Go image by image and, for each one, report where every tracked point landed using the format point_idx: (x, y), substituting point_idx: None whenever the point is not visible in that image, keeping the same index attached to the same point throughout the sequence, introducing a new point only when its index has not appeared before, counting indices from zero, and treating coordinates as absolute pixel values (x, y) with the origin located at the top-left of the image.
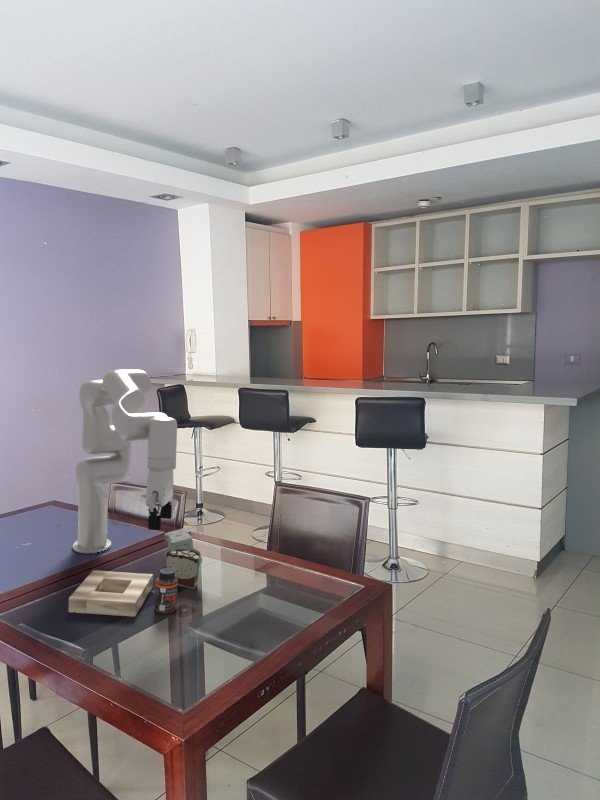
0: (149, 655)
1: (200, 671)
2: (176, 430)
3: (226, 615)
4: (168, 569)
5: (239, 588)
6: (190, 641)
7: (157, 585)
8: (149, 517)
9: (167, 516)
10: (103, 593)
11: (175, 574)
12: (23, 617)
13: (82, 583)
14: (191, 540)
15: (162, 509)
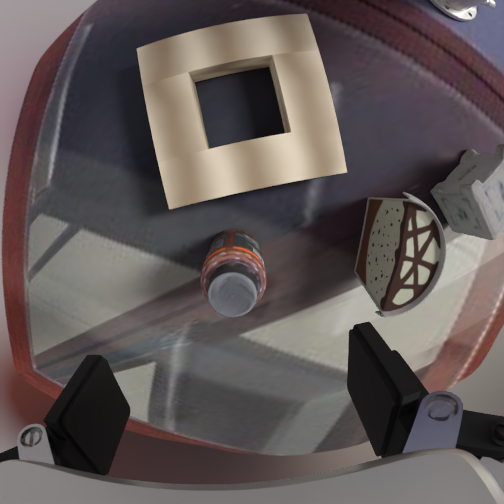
0: (79, 297)
1: None
2: None
3: (256, 369)
4: (242, 295)
5: None
6: (144, 343)
7: (204, 263)
8: (55, 412)
9: (353, 382)
10: (185, 102)
11: (375, 224)
12: (110, 11)
13: (221, 26)
14: (489, 237)
15: (375, 386)
